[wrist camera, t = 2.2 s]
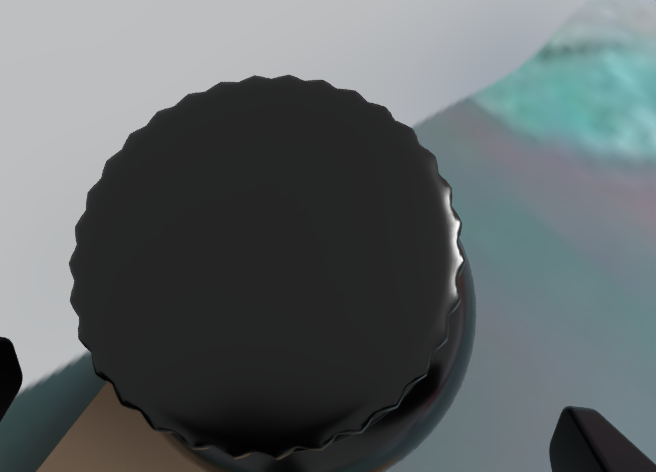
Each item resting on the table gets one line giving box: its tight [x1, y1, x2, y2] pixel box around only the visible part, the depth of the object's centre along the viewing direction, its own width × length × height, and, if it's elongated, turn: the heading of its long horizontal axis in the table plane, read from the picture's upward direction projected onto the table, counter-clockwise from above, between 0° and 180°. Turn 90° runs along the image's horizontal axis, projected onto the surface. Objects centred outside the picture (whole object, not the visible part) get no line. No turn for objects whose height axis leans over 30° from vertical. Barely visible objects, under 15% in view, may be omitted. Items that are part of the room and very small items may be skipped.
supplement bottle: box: [69, 75, 476, 472], centre depth 11 cm, size 7×7×12 cm
